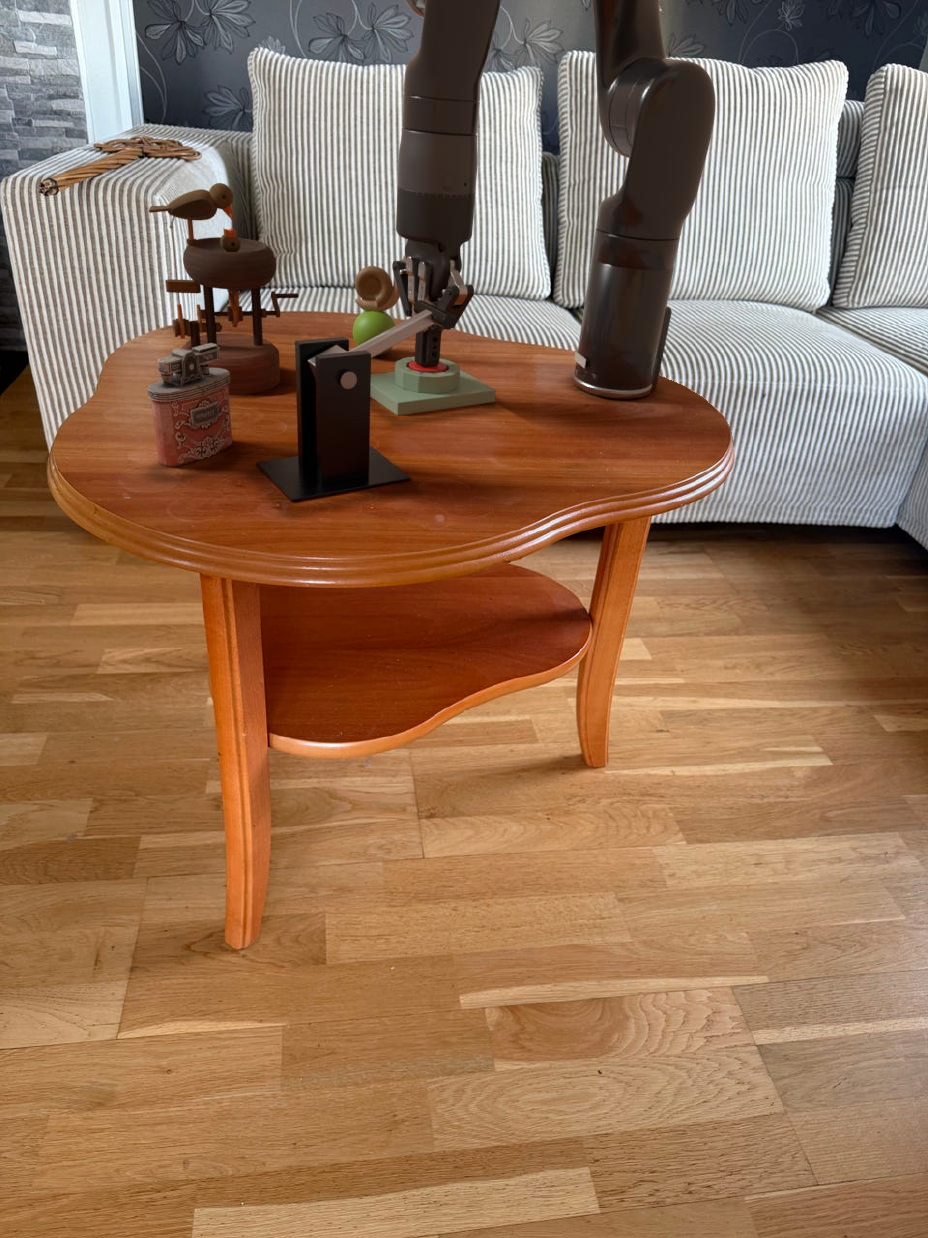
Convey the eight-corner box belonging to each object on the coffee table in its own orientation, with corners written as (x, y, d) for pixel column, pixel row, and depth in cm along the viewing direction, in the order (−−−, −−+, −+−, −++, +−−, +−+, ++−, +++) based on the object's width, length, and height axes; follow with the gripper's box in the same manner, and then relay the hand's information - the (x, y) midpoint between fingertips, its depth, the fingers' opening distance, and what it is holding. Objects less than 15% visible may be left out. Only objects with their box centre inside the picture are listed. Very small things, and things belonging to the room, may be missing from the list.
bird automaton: (185, 402, 89) (158, 184, 79) (158, 378, 97) (130, 178, 88) (323, 387, 96) (314, 185, 87) (287, 365, 104) (275, 179, 95)
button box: (451, 383, 101) (453, 349, 99) (494, 409, 95) (497, 373, 93) (357, 395, 95) (358, 358, 93) (397, 423, 89) (398, 385, 87)
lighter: (176, 481, 74) (163, 364, 68) (148, 470, 75) (133, 354, 70) (244, 454, 80) (236, 343, 74) (217, 444, 81) (208, 335, 75)
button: (433, 373, 96) (434, 357, 95) (452, 384, 93) (453, 368, 92) (401, 376, 94) (402, 360, 93) (420, 388, 91) (420, 372, 90)
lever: (428, 316, 76) (421, 290, 74) (458, 332, 72) (451, 305, 71) (310, 380, 73) (300, 354, 71) (336, 399, 69) (325, 373, 68)
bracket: (369, 456, 81) (371, 328, 75) (410, 490, 76) (417, 355, 69) (256, 474, 76) (248, 338, 70) (292, 512, 71) (287, 368, 64)
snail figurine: (402, 363, 106) (406, 259, 99) (349, 359, 106) (350, 254, 99) (405, 350, 110) (409, 249, 104) (355, 346, 110) (356, 245, 104)
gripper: (507, 196, 80) (489, 380, 90) (435, 175, 89) (425, 344, 99) (438, 195, 77) (427, 388, 86) (370, 173, 86) (366, 350, 95)
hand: (426, 364), depth 93 cm, fingers closed
